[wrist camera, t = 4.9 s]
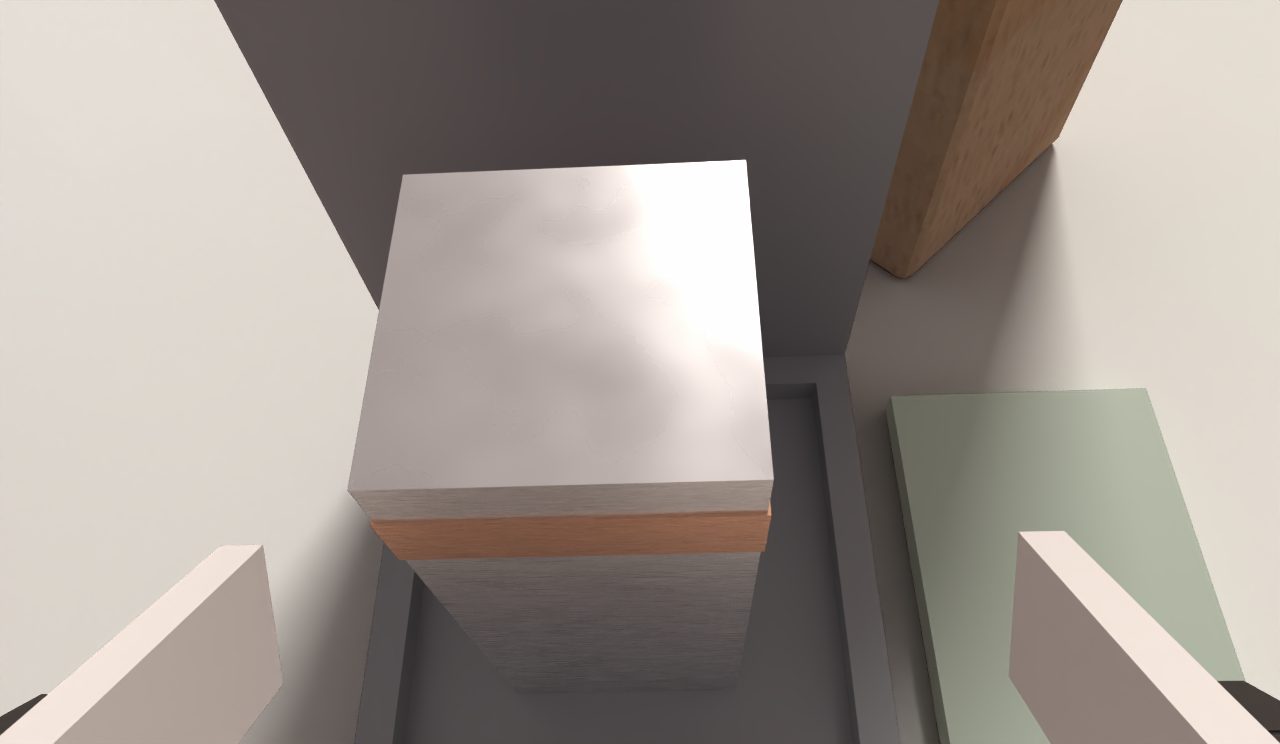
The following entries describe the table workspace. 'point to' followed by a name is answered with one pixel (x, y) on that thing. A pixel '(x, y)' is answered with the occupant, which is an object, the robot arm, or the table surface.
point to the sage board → (1038, 501)
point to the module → (575, 419)
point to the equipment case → (785, 276)
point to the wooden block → (983, 113)
